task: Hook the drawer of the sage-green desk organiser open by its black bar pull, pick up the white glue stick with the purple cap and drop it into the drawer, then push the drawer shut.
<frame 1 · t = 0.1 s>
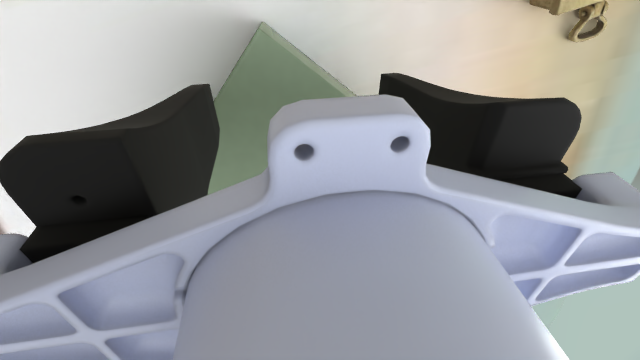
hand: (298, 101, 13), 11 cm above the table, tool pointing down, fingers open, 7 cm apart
organiser: (286, 151, 26), on the table
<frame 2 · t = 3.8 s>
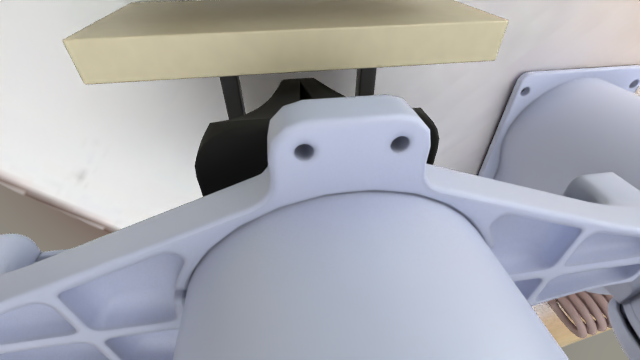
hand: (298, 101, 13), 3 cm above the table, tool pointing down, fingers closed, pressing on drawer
coil: (625, 267, 35), on the table
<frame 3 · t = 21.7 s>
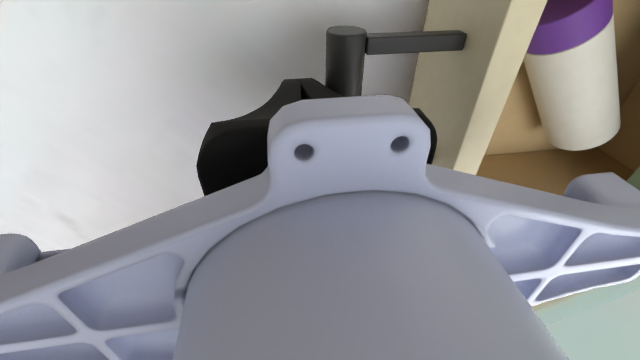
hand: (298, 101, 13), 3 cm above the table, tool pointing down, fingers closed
glue stick: (532, 78, 15), point 2 cm above the table, tilted 39°, touching drawer
drawer: (519, 90, 14), point 4 cm above the table, slide at 8.0 cm, touching glue stick, gripper
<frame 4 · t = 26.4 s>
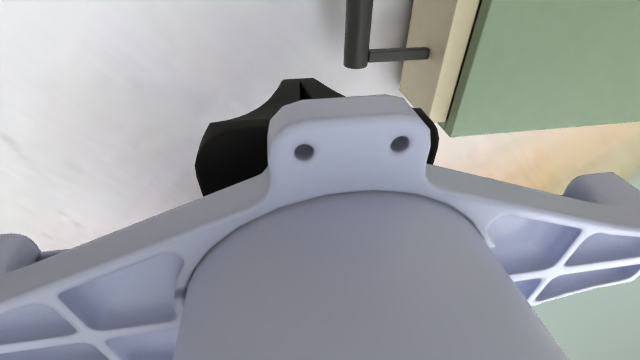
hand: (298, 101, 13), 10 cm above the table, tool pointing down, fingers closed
drawer: (496, 1, 18), point 4 cm above the table, slide at 0.0 cm, touching glue stick
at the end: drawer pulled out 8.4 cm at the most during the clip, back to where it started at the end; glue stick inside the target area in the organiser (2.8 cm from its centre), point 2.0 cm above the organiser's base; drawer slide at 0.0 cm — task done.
